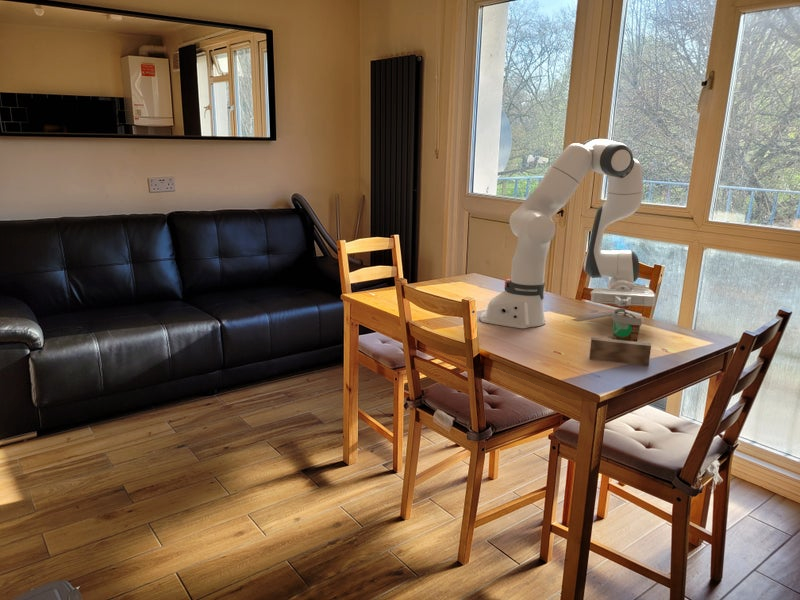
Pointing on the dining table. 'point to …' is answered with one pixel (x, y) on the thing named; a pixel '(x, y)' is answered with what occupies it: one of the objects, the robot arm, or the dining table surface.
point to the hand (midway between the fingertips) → (623, 303)
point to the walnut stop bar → (620, 351)
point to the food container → (625, 325)
